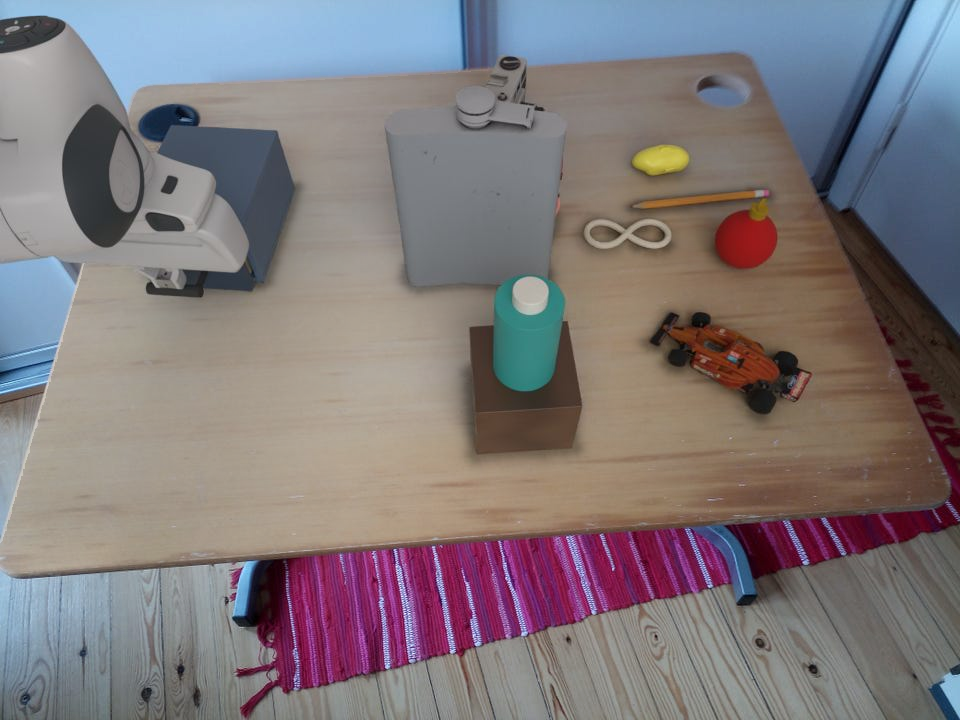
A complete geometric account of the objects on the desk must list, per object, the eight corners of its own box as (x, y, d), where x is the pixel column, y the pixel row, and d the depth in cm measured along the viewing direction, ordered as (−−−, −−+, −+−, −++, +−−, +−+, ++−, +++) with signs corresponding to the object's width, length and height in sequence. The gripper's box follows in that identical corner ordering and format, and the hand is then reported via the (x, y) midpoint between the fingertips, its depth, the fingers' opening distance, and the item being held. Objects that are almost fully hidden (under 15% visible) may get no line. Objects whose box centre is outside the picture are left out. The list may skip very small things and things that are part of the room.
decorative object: (581, 222, 87) (585, 251, 84) (582, 216, 86) (586, 245, 84) (666, 222, 88) (673, 250, 85) (668, 216, 87) (675, 244, 84)
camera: (522, 184, 91) (523, 121, 83) (462, 168, 94) (457, 106, 85) (557, 124, 98) (561, 61, 90) (500, 111, 101) (499, 48, 92)
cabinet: (264, 282, 82) (240, 226, 74) (156, 275, 83) (121, 220, 75) (295, 188, 91) (277, 130, 83) (198, 183, 92) (171, 124, 84)
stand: (476, 454, 70) (476, 413, 62) (470, 373, 75) (469, 326, 67) (572, 448, 70) (582, 406, 62) (559, 367, 75) (567, 320, 68)
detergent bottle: (524, 403, 63) (532, 331, 53) (480, 364, 65) (479, 289, 55) (567, 365, 65) (582, 290, 55) (523, 329, 67) (529, 251, 58)
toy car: (674, 307, 80) (683, 284, 76) (807, 377, 74) (824, 355, 71) (642, 351, 77) (650, 329, 73) (779, 427, 71) (795, 407, 67)
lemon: (689, 179, 92) (697, 157, 89) (631, 181, 92) (637, 158, 89) (683, 159, 94) (690, 136, 91) (626, 160, 94) (632, 138, 91)
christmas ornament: (727, 229, 87) (753, 169, 78) (776, 258, 84) (808, 199, 76) (696, 259, 84) (720, 200, 76) (745, 290, 81) (775, 232, 73)
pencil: (765, 190, 90) (628, 204, 89) (769, 188, 89) (630, 202, 88) (766, 197, 90) (629, 211, 89) (770, 195, 89) (631, 209, 88)
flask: (547, 261, 84) (568, 84, 63) (547, 290, 81) (569, 115, 61) (409, 258, 84) (384, 80, 63) (405, 286, 82) (379, 111, 61)
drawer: (241, 324, 78) (218, 281, 71) (137, 317, 78) (106, 274, 72) (283, 200, 89) (267, 153, 82) (192, 195, 90) (169, 148, 83)
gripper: (-10, 208, 61) (69, 300, 73) (209, 221, 60) (253, 312, 72) (21, 161, 64) (92, 256, 76) (228, 172, 63) (268, 267, 75)
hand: (172, 284), depth 74 cm, fingers closed, pressing on drawer
